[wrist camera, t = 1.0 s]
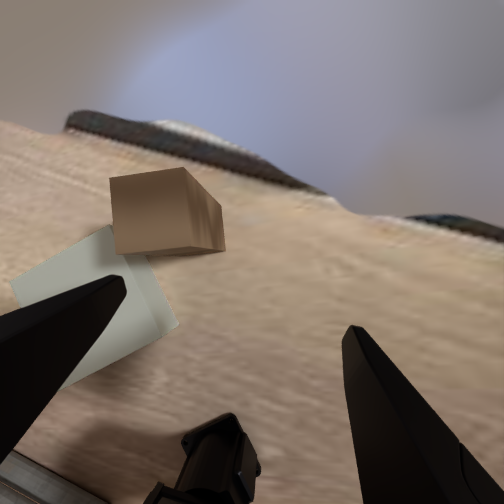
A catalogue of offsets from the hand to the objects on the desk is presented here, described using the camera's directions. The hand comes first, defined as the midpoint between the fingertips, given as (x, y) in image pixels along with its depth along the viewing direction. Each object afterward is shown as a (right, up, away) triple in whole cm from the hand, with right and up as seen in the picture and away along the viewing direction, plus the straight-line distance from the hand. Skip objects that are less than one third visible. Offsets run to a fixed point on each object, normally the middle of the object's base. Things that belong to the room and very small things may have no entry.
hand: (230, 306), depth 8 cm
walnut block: (-5, +4, +15) cm, 16 cm away
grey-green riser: (-15, -3, +16) cm, 23 cm away
